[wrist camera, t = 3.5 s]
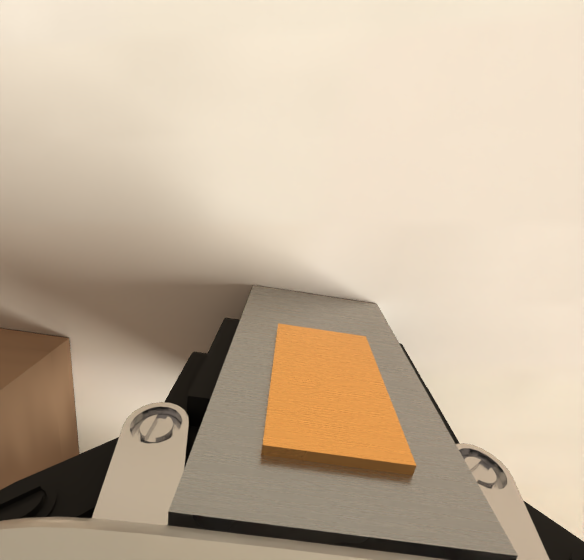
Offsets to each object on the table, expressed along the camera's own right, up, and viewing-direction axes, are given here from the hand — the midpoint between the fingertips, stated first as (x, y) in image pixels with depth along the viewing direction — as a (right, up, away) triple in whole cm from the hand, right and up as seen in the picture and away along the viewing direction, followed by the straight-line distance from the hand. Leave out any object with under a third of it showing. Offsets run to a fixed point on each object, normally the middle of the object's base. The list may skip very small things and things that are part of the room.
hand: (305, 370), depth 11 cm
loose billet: (0, +1, +1) cm, 1 cm away
